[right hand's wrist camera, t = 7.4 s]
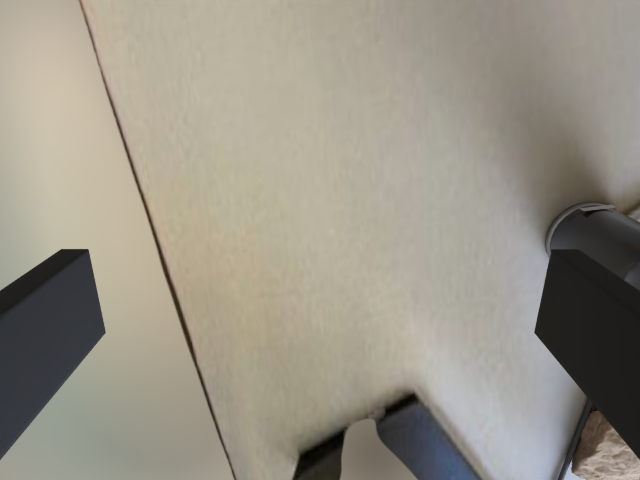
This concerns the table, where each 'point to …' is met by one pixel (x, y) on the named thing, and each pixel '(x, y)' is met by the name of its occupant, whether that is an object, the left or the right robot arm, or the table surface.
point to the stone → (604, 453)
